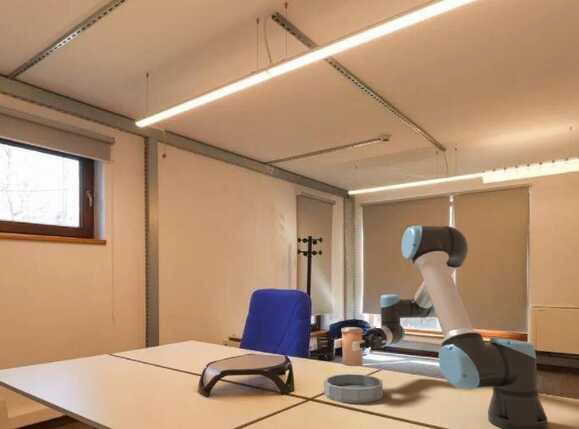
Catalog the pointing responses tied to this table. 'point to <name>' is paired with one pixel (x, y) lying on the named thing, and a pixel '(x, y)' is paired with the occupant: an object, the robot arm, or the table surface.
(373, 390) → the slate bowl
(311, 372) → the table surface
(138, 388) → the table surface
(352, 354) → the terracotta jar
